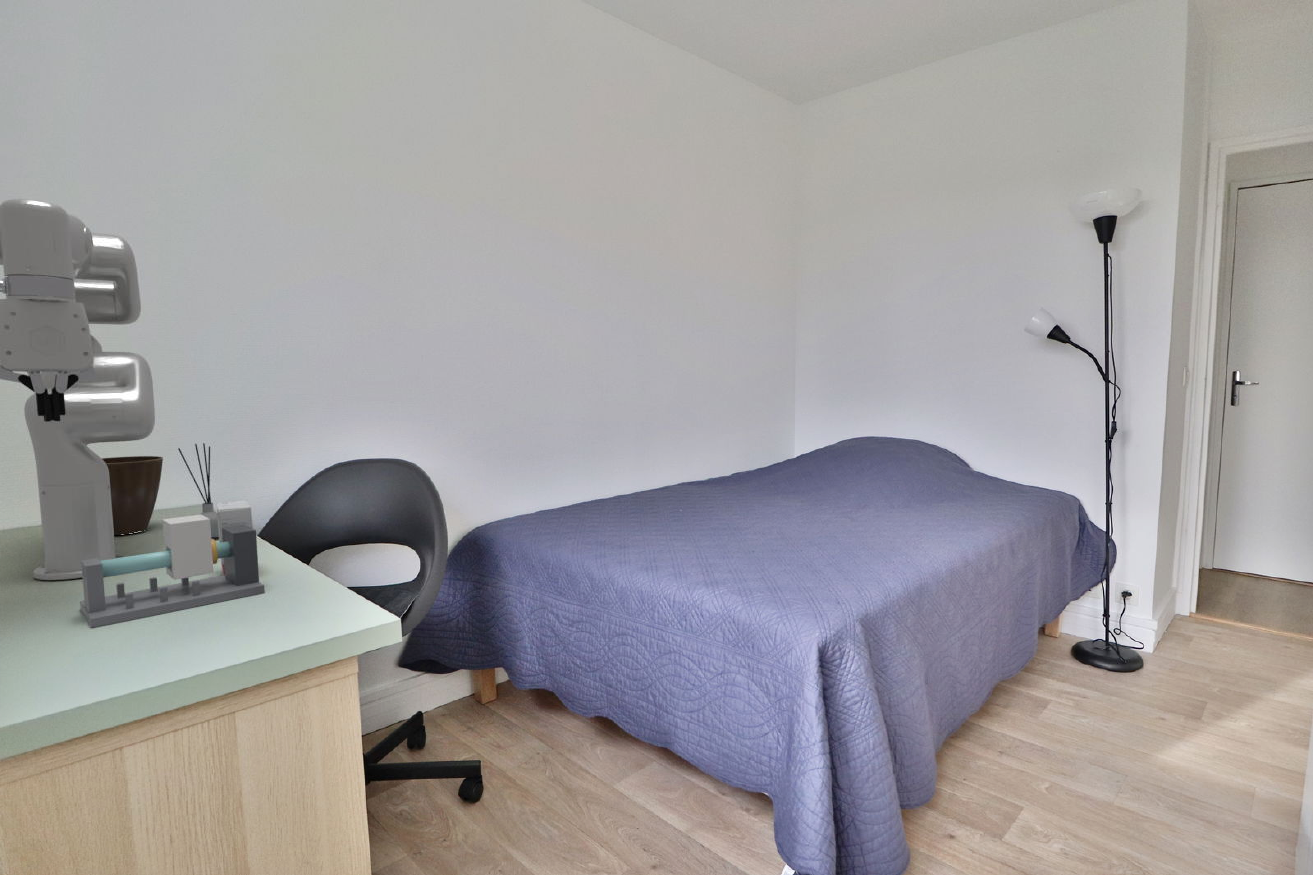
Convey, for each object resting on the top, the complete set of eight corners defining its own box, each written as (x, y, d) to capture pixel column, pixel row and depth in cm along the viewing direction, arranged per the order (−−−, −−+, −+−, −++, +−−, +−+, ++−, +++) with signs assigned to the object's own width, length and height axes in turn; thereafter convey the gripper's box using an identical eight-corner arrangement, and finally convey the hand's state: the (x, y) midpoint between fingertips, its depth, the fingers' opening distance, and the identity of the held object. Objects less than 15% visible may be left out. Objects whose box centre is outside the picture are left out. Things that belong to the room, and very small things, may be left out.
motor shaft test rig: (91, 627, 95) (86, 558, 94) (80, 609, 102) (75, 545, 102) (264, 592, 109) (261, 532, 109) (243, 578, 117) (239, 522, 116)
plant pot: (125, 524, 163) (120, 455, 161) (184, 526, 161) (179, 455, 159) (63, 539, 148) (56, 463, 147) (126, 541, 146) (120, 463, 144)
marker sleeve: (174, 579, 103) (170, 524, 103) (166, 573, 107) (162, 519, 106) (213, 572, 107) (210, 519, 106) (204, 566, 111) (201, 514, 110)
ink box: (257, 576, 118) (253, 506, 117) (222, 581, 116) (217, 510, 115) (253, 565, 126) (249, 499, 125) (220, 570, 123) (215, 502, 122)
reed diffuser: (231, 540, 146) (224, 442, 144) (192, 546, 141) (185, 445, 139) (214, 533, 153) (208, 440, 151) (176, 539, 147) (169, 442, 146)
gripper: (-32, 285, 93) (-19, 425, 95) (111, 293, 104) (120, 419, 105) (-33, 290, 98) (-21, 422, 100) (103, 297, 109) (112, 417, 110)
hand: (52, 420), depth 103 cm, fingers closed
